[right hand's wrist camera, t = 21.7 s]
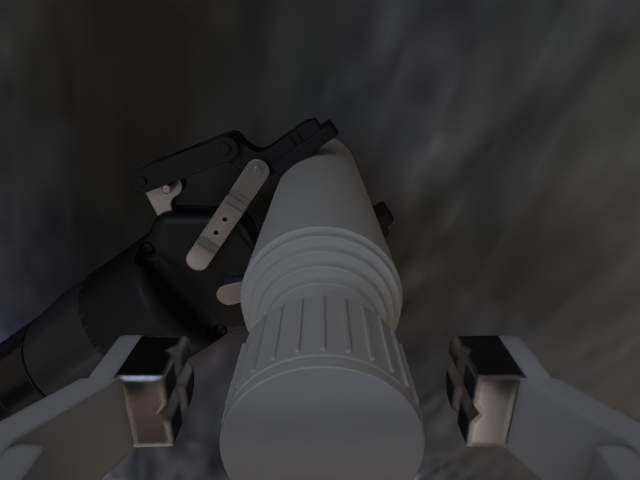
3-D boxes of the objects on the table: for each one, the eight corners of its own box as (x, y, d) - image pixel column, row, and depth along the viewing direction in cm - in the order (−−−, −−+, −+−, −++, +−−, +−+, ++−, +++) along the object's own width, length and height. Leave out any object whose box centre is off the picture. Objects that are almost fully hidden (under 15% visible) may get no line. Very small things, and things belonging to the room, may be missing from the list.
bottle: (363, 195, 30) (465, 489, 9) (296, 213, 31) (245, 531, 10) (346, 127, 29) (422, 290, 7) (276, 146, 29) (156, 354, 8)
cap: (206, 347, 10) (171, 430, 8) (345, 261, 9) (354, 325, 7) (302, 450, 11) (297, 550, 9) (433, 381, 10) (466, 471, 8)
